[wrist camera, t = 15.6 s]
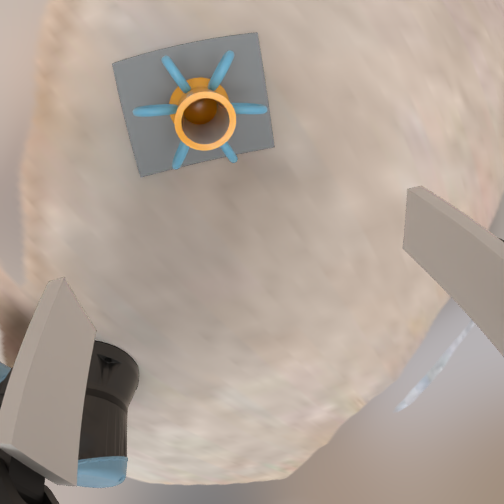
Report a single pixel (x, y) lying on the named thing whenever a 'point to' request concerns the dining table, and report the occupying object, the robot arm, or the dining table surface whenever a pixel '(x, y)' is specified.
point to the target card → (163, 85)
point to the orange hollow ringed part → (201, 111)
